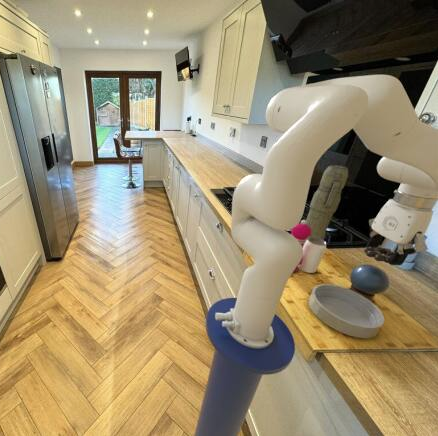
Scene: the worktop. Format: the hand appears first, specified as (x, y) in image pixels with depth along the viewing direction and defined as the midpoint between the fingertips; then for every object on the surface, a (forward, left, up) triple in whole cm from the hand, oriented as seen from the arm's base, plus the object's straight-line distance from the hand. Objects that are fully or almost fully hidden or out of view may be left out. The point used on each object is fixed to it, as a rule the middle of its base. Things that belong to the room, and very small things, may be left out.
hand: (382, 255), depth 69 cm
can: (-9, +14, -16) cm, 23 cm away
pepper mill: (-16, +14, -16) cm, 27 cm away
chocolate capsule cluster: (0, 0, 0) cm, 0 cm away
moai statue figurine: (+2, +31, -16) cm, 35 cm away
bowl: (-12, -8, -16) cm, 21 cm away
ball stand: (0, 0, -16) cm, 16 cm away
